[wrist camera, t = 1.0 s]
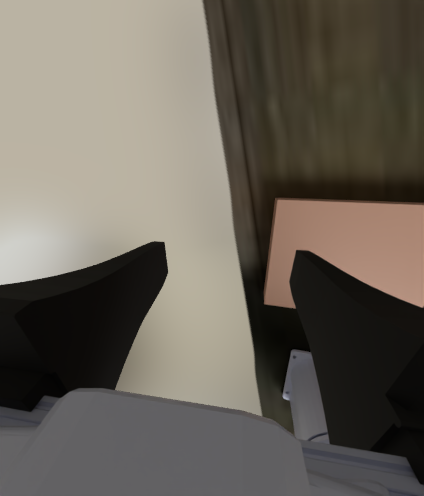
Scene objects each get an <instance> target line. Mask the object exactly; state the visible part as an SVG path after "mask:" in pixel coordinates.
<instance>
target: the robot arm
mask: <svg viewBox="0 0 424 496" xmlns="http://www.w3.org/2000/svg"><path fill="white" fill-rule="evenodd" d="M167 274H168V267H167V259H166V251H165V243H164V242H155V241H154V242H150V243H148V244H146V245H143V246H141V247H138V248H136V249H134V250H131V251H129V252H127V253H125V254H122V255H120V256H117V257H115V258H112V259H110V260H108V261H105V262H102V263H99V264H97V265H93V266H90V267H87V268H84V269H81V270H77V271H73V272H69V273H65V274H61V275H57V276H52V277H48V278H42V279H37V280H32V281H26V282H20V283H13V284H5V285H0V496H424V308H422V307H419V306H416V305H414V304H411V303H409V302H406V301H404V300H401V299H399V298H396V297H394V296H392V295H389V294H387V293H385V292H383V291H381V290H379V289H376V288H374V287H372V286H370V285H368V284H366V283H364V282H362V281H360V280H358V279H357V278H355V277H353V276H351V275H349V274H348V273H346V272H344V271H342V270H341V269H339V268H337V267H336V266H334V265H332V264H331V263H329V262H328V261H326V260H324V259H323V258H321V257H320V256H318V255H316V254H314V253H313V252H311V251H308V250H296V253H295V257H294V262H293V266H292V271H291V275H290V280H289V284H290V289H291V294H292V298H293V301H294V304H295V307H296V309H297V312H298V315H299V318H300V320H301V323H302V326H303V328H304V331H305V334H306V337H307V340H308V343H309V347H310V351H311V352H307V351H301V350H295V349H294V350H292V351H291V354H290V359H289V364H288V369H287V374H286V379H285V384H284V390H283V398H284V399H286V400H290V404H291V411H292V417H293V424H294V430H295V436H294V435H293V434H292V433H290V432H289V431H287V430H286V429H285V428H283V427H282V426H281V425H279V424H278V423H276V422H275V421H274V420H272V419H269V418H265V417H262V416H258V415H255V414H252V413H248V412H245V411H241V410H235V409H229V408H223V407H217V406H210V405H204V404H198V403H191V402H185V401H178V400H173V399H166V398H160V397H154V396H147V395H141V394H135V393H129V392H123V391H117V390H115V388H116V385H117V382H118V380H119V377H120V374H121V372H122V369H123V366H124V363H125V361H126V359H127V356H128V354H129V351H130V349H131V346H132V344H133V342H134V339H135V337H136V335H137V332H138V330H139V328H140V326H141V324H142V322H143V320H144V318H145V316H146V314H147V313H148V311H149V309H150V308H151V306H152V304H153V302H154V301H155V299H156V297H157V295H158V294H159V292H160V290H161V288H162V286H163V284H164V282H165V279H166V277H167Z"/></svg>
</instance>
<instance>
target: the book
mask: <svg viewBox="0 0 424 496" xmlns="http://www.w3.org/2000/svg"><path fill="white" fill-rule="evenodd" d="M296 250H308V251H311V252H313V253H314V254H316V255H318V256H320V257H321V258H323V259H324V260H326V261H328V262H329V263H331V264H332V265H334V266H336V267H337V268H339V269H341V270H342V271H344V272H346V273H348V274H349V275H351V276H353V277H355V278H357V279H358V280H360V281H362V282H364V283H366V284H368V285H370V286H372V287H374V288H376V289H379V290H381V291H383V292H385V293H387V294H389V295H392V296H394V297H396V298H399V299H401V300H404V301H406V302H409V303H411V304H414V305H416V306H419V307H422V308H423V306H424V203H417V202H388V201H359V200H331V199H302V198H275V204H274V212H273V220H272V229H271V237H270V245H269V253H268V261H267V269H266V278H265V286H264V304H267V305H274V306H281V307H288V308H295V309H296V307H295V304H294V301H293V298H292V294H291V289H290V284H289V280H290V275H291V271H292V266H293V262H294V257H295V253H296Z"/></svg>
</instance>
